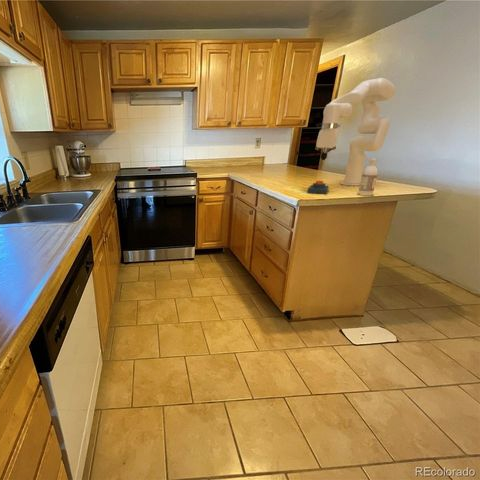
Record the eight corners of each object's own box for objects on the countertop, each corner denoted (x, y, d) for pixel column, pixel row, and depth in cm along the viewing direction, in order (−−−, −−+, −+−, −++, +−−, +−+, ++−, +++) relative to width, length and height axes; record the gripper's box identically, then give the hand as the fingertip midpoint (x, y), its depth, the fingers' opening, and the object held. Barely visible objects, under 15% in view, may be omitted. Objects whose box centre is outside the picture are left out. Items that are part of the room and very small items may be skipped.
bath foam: (369, 196, 150) (378, 159, 143) (355, 194, 156) (363, 159, 148) (374, 194, 154) (383, 158, 146) (360, 192, 159) (369, 158, 152)
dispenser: (310, 189, 175) (311, 181, 173) (328, 190, 169) (329, 182, 167) (307, 193, 165) (308, 185, 163) (326, 194, 159) (327, 186, 158)
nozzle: (315, 183, 168) (316, 180, 167) (323, 184, 166) (323, 180, 165) (315, 184, 165) (315, 181, 164) (322, 185, 163) (323, 181, 162)
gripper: (344, 126, 152) (338, 159, 159) (315, 127, 161) (310, 159, 167) (344, 126, 147) (337, 160, 153) (313, 127, 155) (308, 160, 161)
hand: (323, 159), depth 160 cm, fingers closed
